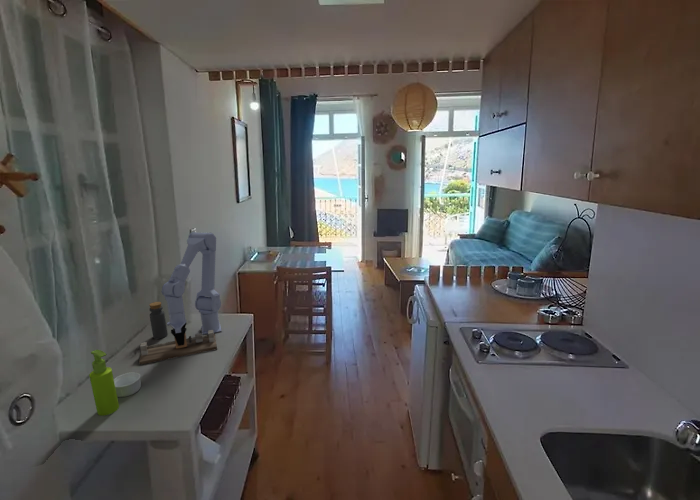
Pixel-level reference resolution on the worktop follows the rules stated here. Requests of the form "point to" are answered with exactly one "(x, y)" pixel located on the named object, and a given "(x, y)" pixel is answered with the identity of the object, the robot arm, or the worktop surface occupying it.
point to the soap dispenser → (103, 385)
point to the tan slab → (170, 351)
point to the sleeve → (181, 345)
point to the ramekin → (127, 384)
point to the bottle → (158, 320)
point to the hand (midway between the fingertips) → (181, 342)
